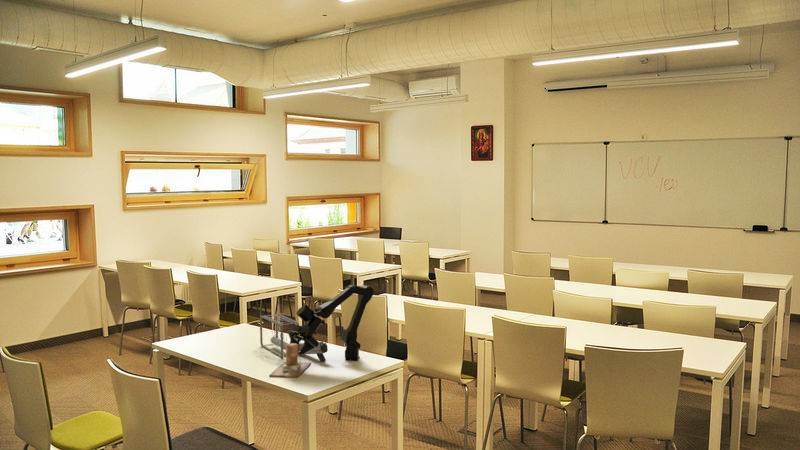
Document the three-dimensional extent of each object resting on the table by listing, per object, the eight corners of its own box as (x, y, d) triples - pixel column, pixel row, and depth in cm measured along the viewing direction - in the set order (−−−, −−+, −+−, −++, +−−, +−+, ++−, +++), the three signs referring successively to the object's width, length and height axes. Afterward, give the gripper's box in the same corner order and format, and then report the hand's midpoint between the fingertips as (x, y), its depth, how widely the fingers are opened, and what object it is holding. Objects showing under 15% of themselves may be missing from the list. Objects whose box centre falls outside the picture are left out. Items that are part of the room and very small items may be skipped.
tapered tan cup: (299, 367, 297) (299, 343, 296) (295, 371, 291) (295, 346, 291) (288, 367, 298) (287, 343, 297) (284, 370, 292) (284, 346, 291)
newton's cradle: (300, 355, 322) (299, 322, 321) (281, 358, 316) (281, 324, 315) (277, 343, 346) (277, 312, 345) (260, 346, 340) (259, 314, 339)
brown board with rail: (311, 364, 305) (311, 357, 305) (298, 377, 284) (298, 370, 283) (284, 363, 307) (284, 356, 307) (269, 376, 286) (269, 369, 285)
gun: (326, 361, 306) (323, 341, 307) (299, 362, 324) (296, 343, 325) (330, 360, 308) (327, 341, 309) (303, 361, 326) (300, 342, 327)
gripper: (291, 315, 304) (272, 340, 297) (313, 320, 291) (294, 347, 284) (304, 327, 310) (286, 353, 303) (326, 333, 297) (308, 360, 290)
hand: (293, 353), depth 295 cm, fingers open, 9 cm apart
